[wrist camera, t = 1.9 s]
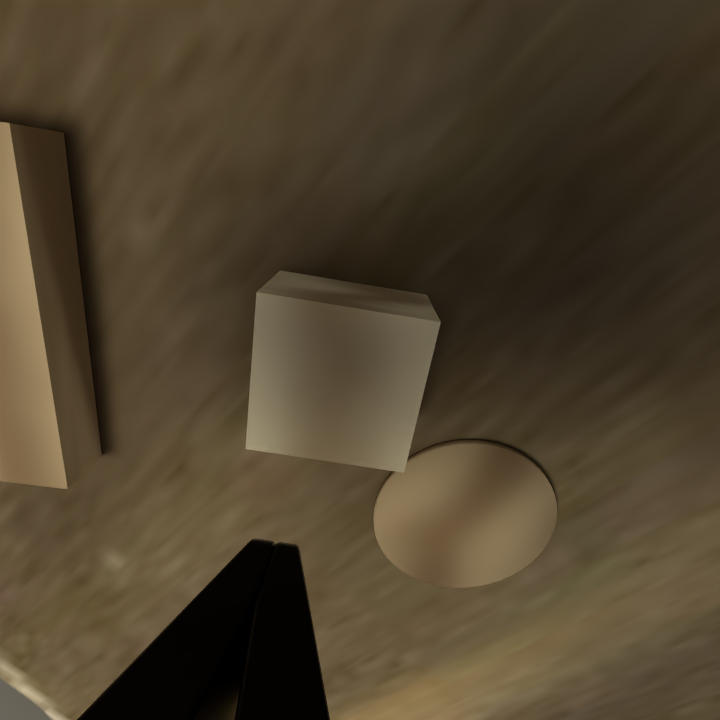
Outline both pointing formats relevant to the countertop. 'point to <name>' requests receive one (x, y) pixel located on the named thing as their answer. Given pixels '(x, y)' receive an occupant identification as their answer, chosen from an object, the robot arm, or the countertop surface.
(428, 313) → the maple block
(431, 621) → the countertop surface
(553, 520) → the cork coaster
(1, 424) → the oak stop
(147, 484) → the countertop surface
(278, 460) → the countertop surface
